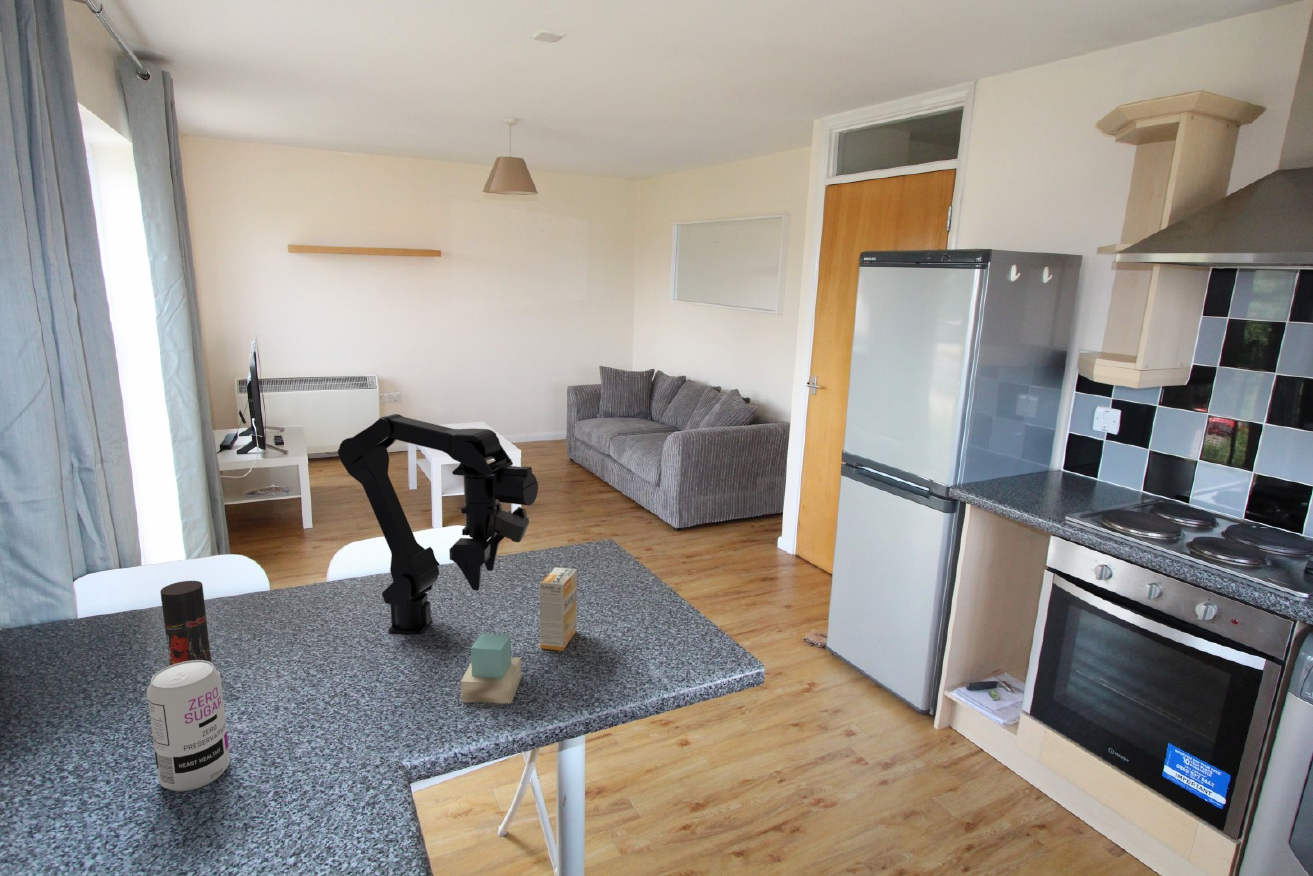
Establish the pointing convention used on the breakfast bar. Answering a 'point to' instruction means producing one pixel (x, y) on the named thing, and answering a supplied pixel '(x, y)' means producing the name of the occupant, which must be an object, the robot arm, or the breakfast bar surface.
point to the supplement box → (558, 608)
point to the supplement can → (188, 725)
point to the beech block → (491, 685)
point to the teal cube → (491, 655)
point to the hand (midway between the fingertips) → (483, 579)
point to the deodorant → (185, 622)
